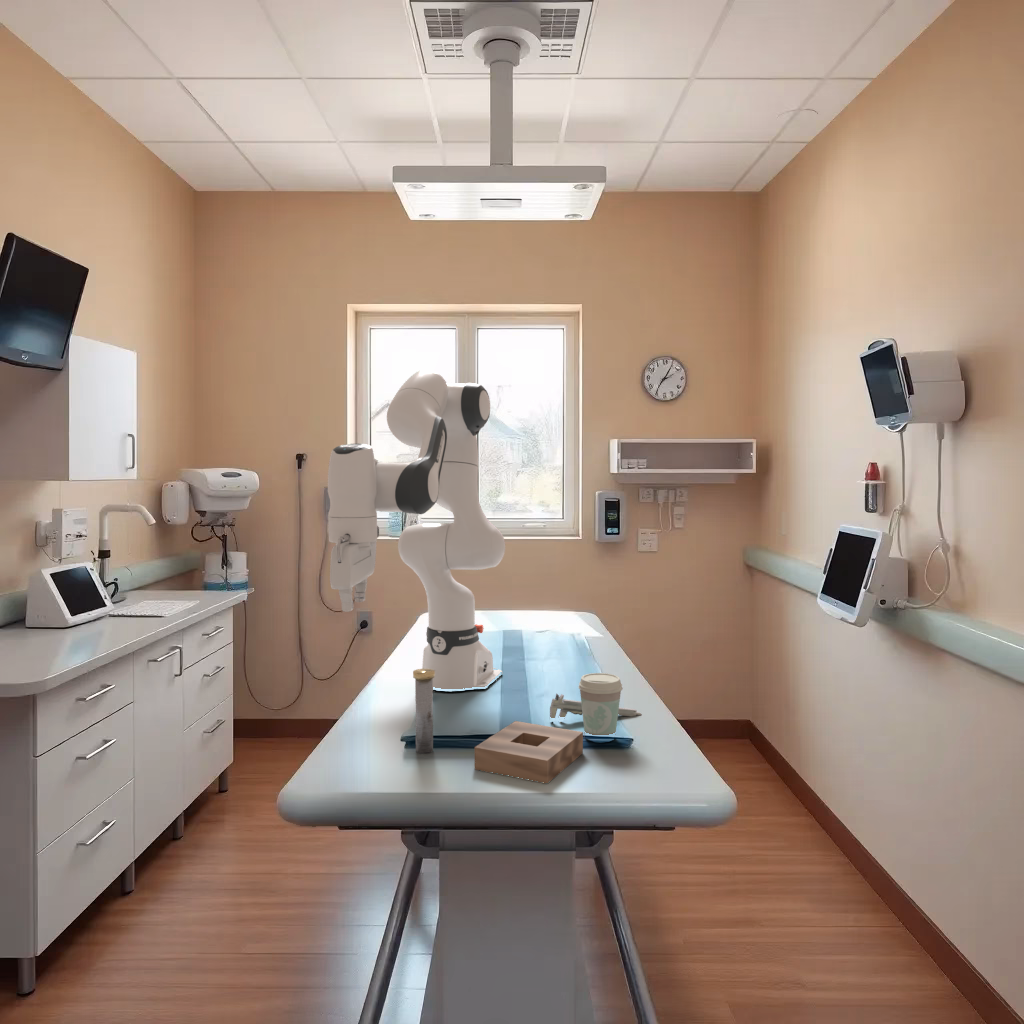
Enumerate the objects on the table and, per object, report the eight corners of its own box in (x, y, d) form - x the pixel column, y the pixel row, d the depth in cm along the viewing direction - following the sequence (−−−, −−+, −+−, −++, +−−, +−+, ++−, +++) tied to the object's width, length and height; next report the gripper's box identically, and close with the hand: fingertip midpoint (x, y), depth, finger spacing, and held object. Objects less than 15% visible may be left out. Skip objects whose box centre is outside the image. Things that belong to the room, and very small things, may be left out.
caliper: (551, 725, 168) (551, 695, 168) (549, 723, 169) (549, 693, 169) (641, 716, 174) (642, 687, 174) (639, 714, 175) (639, 686, 175)
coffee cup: (569, 738, 159) (569, 677, 159) (596, 728, 165) (597, 669, 165) (603, 749, 153) (604, 686, 153) (630, 738, 159) (631, 677, 159)
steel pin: (421, 745, 156) (420, 667, 155) (439, 748, 154) (438, 670, 153) (409, 752, 152) (408, 672, 151) (427, 755, 150) (427, 675, 149)
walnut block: (515, 741, 158) (515, 721, 157) (582, 753, 151) (582, 732, 151) (474, 769, 143) (474, 747, 143) (547, 783, 137) (547, 760, 137)
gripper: (356, 537, 140) (357, 617, 141) (381, 527, 161) (382, 596, 162) (320, 537, 141) (321, 616, 141) (349, 527, 161) (350, 596, 162)
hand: (353, 606), depth 152 cm, fingers open, 8 cm apart
